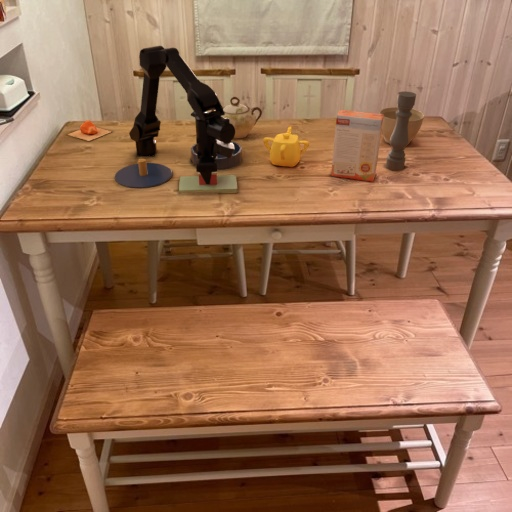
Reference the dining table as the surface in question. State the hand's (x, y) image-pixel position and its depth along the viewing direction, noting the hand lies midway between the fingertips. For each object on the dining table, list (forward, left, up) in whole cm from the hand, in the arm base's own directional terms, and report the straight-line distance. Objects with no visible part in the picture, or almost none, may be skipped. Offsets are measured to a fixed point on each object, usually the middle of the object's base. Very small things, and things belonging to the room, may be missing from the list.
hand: (207, 180), depth 163 cm
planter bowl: (+72, +34, -2) cm, 80 cm away
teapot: (+27, +18, -2) cm, 32 cm away
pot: (+3, +20, -2) cm, 20 cm away
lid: (-21, +8, -1) cm, 22 cm away
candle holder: (+64, +11, -2) cm, 65 cm away
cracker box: (+48, +5, -2) cm, 48 cm away
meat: (0, 0, 0) cm, 0 cm away
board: (0, 0, -2) cm, 2 cm away
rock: (-46, +49, -2) cm, 67 cm away
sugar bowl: (+11, +44, -2) cm, 45 cm away
